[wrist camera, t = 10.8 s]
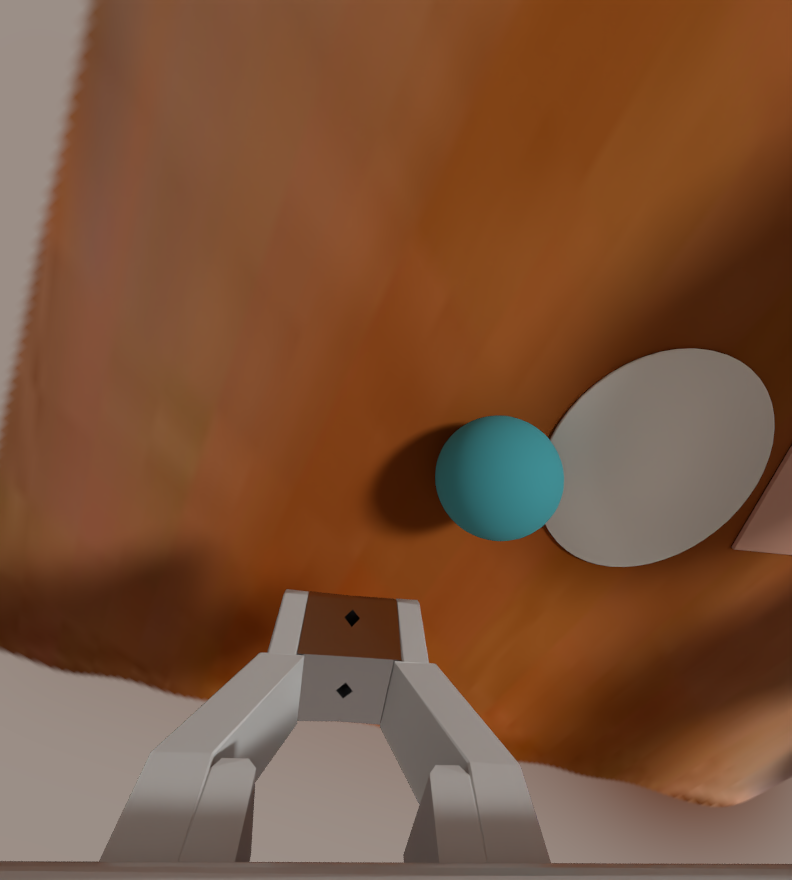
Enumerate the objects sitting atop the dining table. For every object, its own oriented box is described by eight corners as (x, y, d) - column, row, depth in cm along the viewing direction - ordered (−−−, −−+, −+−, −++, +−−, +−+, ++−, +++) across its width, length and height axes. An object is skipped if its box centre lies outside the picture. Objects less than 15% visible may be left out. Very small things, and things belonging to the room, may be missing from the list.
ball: (391, 475, 17) (437, 438, 21) (464, 583, 17) (494, 522, 21) (501, 407, 14) (526, 381, 18) (590, 538, 14) (592, 479, 18)
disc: (780, 505, 23) (783, 507, 23) (575, 596, 24) (577, 598, 24) (757, 298, 18) (762, 298, 18) (502, 425, 20) (503, 427, 19)
